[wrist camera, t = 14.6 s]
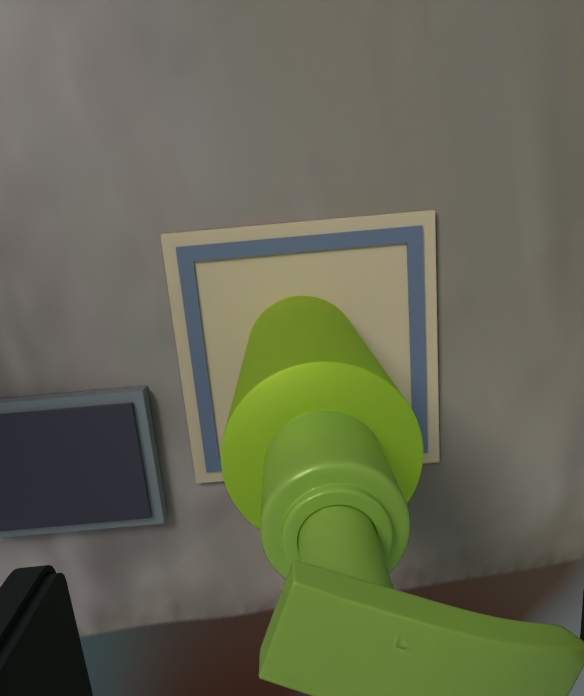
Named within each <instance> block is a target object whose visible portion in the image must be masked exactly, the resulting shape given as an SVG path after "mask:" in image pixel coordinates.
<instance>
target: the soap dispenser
mask: <svg viewBox="0 0 584 696" xmlns="http://www.w3.org/2000/svg"><path fill="white" fill-rule="evenodd" d="M422 465H423V440H422V434H421V430H420V427H419V424H418V421H417V418H416V416H415V414H414V412H413V410H412V408H411V407H410V405H409V404H408V402H407V401H406V399H405V398H404V397H403V395H402V394H401V392H400V391H399V390H398V388H397V387H396V385H395V384H394V383H393V381H392V380H391V378H390V377H389V376H388V374H387V373H386V371H385V370H384V369H383V367H382V366H381V364H380V363H379V362H378V360H377V359H376V357H375V356H374V355H373V353H372V352H371V350H370V349H369V348H368V346H367V345H366V343H365V342H364V341H363V339H362V338H361V336H360V335H359V334H358V332H357V331H356V329H355V328H354V327H353V325H352V324H351V322H350V321H349V320H348V318H347V317H346V316H345V314H344V313H343V312H342V311H341V310H340V309H338V308H337V307H336V306H335V305H333V304H331V303H330V302H328V301H326V300H323V299H321V298H317V297H313V296H293V297H288V298H285V299H282V300H280V301H278V302H276V303H274V304H273V305H271V306H270V307H268V308H267V309H266V310H265V311H264V312H263V313H262V314H261V315H260V316H259V317H258V319H257V320H256V322H255V324H254V325H253V327H252V330H251V332H250V336H249V339H248V343H247V347H246V351H245V355H244V359H243V362H242V366H241V370H240V374H239V378H238V381H237V385H236V389H235V393H234V397H233V400H232V404H231V408H230V412H229V416H228V420H227V423H226V427H225V431H224V435H223V439H222V445H221V469H222V474H223V479H224V482H225V485H226V488H227V490H228V493H229V495H230V497H231V499H232V500H233V502H234V504H235V505H236V507H237V508H238V510H239V511H240V512H241V513H242V514H243V516H244V517H245V518H246V519H247V520H248V521H249V522H250V523H252V524H253V525H254V526H255V527H257V528H258V529H259V530H260V536H261V541H262V545H263V549H264V552H265V554H266V556H267V558H268V560H269V562H270V564H271V565H272V566H273V568H274V569H275V570H276V571H277V572H278V573H279V574H280V575H281V576H282V577H283V578H284V579H285V582H284V585H283V588H282V591H281V594H280V596H279V599H278V602H277V605H276V607H275V610H274V613H273V616H272V618H271V621H270V624H269V627H268V629H267V632H266V635H265V638H264V640H263V643H262V646H261V649H260V665H259V678H260V679H263V680H266V681H269V682H272V683H275V684H278V685H281V686H284V687H287V688H290V689H293V690H296V691H299V692H302V693H306V694H308V695H312V696H568V694H569V693H570V691H571V689H572V687H573V685H574V683H575V681H576V680H577V678H578V676H579V674H580V672H581V670H582V668H583V667H584V641H583V640H581V639H580V638H578V637H577V636H575V635H574V634H573V633H571V632H570V631H568V630H567V629H565V628H564V627H562V626H559V625H553V624H542V623H541V624H540V623H530V622H522V621H516V620H510V619H503V618H499V617H494V616H489V615H484V614H480V613H476V612H472V611H468V610H464V609H460V608H457V607H453V606H449V605H446V604H442V603H439V602H435V601H431V600H429V599H425V598H422V597H418V596H414V595H412V594H408V593H405V592H401V591H398V590H395V589H394V588H393V585H392V582H391V579H390V575H389V573H390V572H391V571H392V570H393V569H394V567H395V566H396V565H397V564H398V562H399V561H400V559H401V558H402V556H403V554H404V552H405V550H406V547H407V544H408V541H409V535H410V517H409V511H408V507H407V503H408V501H409V500H410V498H411V497H412V495H413V493H414V491H415V489H416V486H417V484H418V481H419V478H420V475H421V470H422Z"/></svg>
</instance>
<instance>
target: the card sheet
mask: <svg viewBox="0 0 584 696" xmlns="http://www.w3.org/2000/svg"><path fill="white" fill-rule="evenodd" d="M160 235H161V242H162V249H163V256H164V263H165V270H166V277H167V284H168V291H169V298H170V305H171V312H172V319H173V326H174V332H175V339H176V346H177V353H178V360H179V367H180V374H181V381H182V388H183V395H184V402H185V409H186V416H187V423H188V430H189V437H190V444H191V451H192V458H193V464H194V471H195V478H196V484H197V483H209V482H220V481H224V479H223V474H222V469H221V445H222V439H223V435H224V431H225V427H226V423H227V420H228V416H229V412H230V408H231V404H232V400H233V397H234V393H235V389H236V385H237V381H238V378H239V374H240V370H241V366H242V362H243V359H244V355H245V351H246V347H247V343H248V339H249V336H250V332H251V330H252V327H253V325H254V324H255V322H256V320H257V319H258V317H259V316H260V315H261V314H262V313H263V312H264V311H265V310H266V309H267V308H268V307H270V306H271V305H273V304H274V303H276V302H278V301H280V300H282V299H285V298H288V297H293V296H313V297H317V298H321V299H323V300H326V301H328V302H330V303H331V304H333V305H335V306H336V307H337V308H338V309H340V310H341V311H342V312H343V313H344V314H345V316H346V317H347V318H348V320H349V321H350V322H351V324H352V325H353V327H354V328H355V329H356V331H357V332H358V334H359V335H360V336H361V338H362V339H363V341H364V342H365V343H366V345H367V346H368V348H369V349H370V350H371V352H372V353H373V355H374V356H375V357H376V359H377V360H378V362H379V363H380V364H381V366H382V367H383V369H384V370H385V371H386V373H387V374H388V376H389V377H390V378H391V380H392V381H393V383H394V384H395V385H396V387H397V388H398V390H399V391H400V392H401V394H402V395H403V397H404V398H405V399H406V401H407V402H408V404H409V405H410V407H411V408H412V410H413V412H414V414H415V416H416V418H417V421H418V424H419V427H420V430H421V434H422V440H423V463H435V462H440V459H439V403H438V347H437V291H436V235H435V210H429V211H417V212H406V213H395V214H383V215H372V216H361V217H349V218H338V219H327V220H315V221H304V222H293V223H281V224H270V225H259V226H247V227H236V228H225V229H213V230H202V231H191V232H179V233H168V234H160Z"/></svg>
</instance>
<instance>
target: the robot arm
mask: <svg viewBox="0 0 584 696" xmlns="http://www.w3.org/2000/svg"><path fill="white" fill-rule="evenodd" d="M580 639H581V640H583V641H584V592H583V607H582V621H581V634H580ZM0 696H93V695H92V689H91V685H90V681H89V676H88V672H87V668H86V664H85V659H84V655H83V651H82V646H81V642H80V638H79V633H78V629H77V625H76V621H75V616H74V612H73V608H72V603H71V599H70V595H69V591H68V586H67V582H66V579H65V576H64V575H63V574H62V573H56V572H55V569H54V568H53V567H52V566H50V565H46V566H37V567H27V568H18V569H15V570H14V571H13V572H12V573H11V574H10V575H9V576H8V578H7V579H6V580H5V582H4V583H3V585H2V586H1V587H0Z"/></svg>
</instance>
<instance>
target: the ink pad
mask: <svg viewBox="0 0 584 696" xmlns="http://www.w3.org/2000/svg"><path fill="white" fill-rule="evenodd" d="M167 515H168V514H167V508H166V502H165V495H164V489H163V483H162V477H161V471H160V464H159V458H158V452H157V446H156V440H155V433H154V427H153V421H152V415H151V409H150V402H149V396H148V390H147V386H136V387H125V388H114V389H102V390H91V391H80V392H68V393H57V394H46V395H34V396H23V397H12V398H1V399H0V538H7V537H18V536H29V535H41V534H52V533H63V532H75V531H86V530H97V529H109V528H120V527H131V526H142V525H154V524H164V523H165V520H166V518H167Z"/></svg>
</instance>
